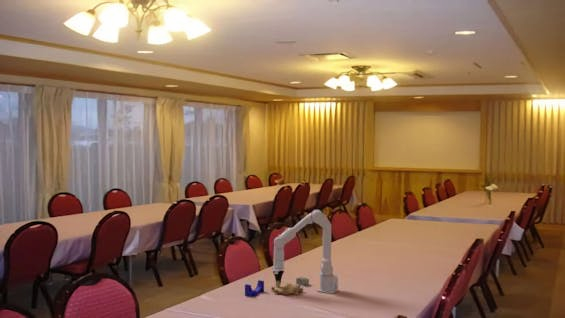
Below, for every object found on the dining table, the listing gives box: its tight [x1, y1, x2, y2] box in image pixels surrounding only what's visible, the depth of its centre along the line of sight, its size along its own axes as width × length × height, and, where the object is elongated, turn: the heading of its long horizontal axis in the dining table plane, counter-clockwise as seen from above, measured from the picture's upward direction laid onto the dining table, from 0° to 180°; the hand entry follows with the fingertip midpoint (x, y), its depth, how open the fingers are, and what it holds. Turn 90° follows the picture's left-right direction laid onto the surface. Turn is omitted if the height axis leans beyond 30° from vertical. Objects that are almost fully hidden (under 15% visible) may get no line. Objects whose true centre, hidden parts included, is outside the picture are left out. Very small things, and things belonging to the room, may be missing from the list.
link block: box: [295, 276, 310, 287], centre depth 315 cm, size 6×4×4 cm, turn 47°
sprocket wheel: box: [271, 280, 304, 296], centre depth 301 cm, size 17×17×5 cm
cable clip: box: [244, 279, 265, 298], centre depth 296 cm, size 12×4×6 cm, turn 142°
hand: (278, 284), depth 302 cm, fingers closed, pressing on sprocket wheel
